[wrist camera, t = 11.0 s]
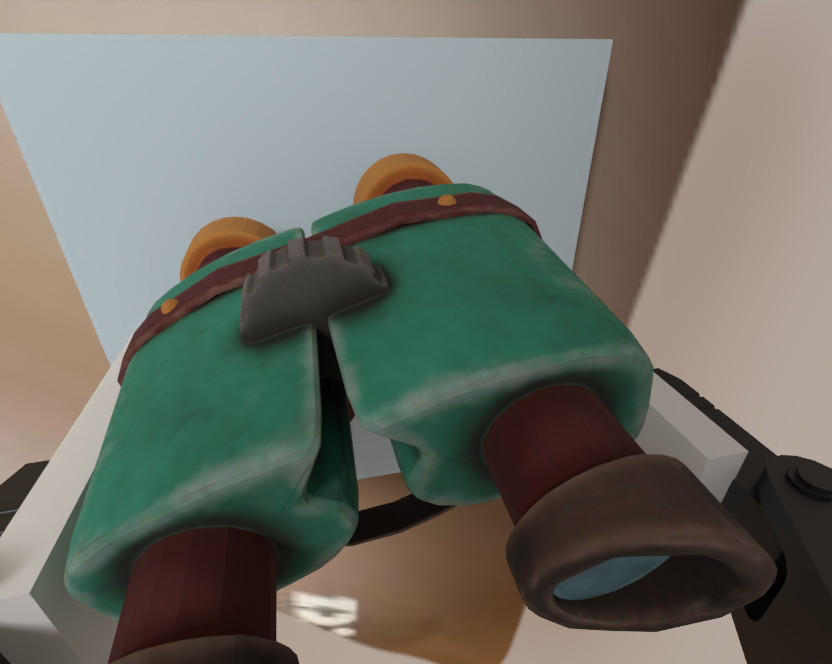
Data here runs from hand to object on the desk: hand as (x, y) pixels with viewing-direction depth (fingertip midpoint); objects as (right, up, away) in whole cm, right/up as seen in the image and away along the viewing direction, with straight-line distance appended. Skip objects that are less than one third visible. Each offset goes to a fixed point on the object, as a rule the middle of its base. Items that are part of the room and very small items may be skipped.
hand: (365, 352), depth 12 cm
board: (-1, +2, +3) cm, 4 cm away
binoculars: (0, +1, +2) cm, 2 cm away
